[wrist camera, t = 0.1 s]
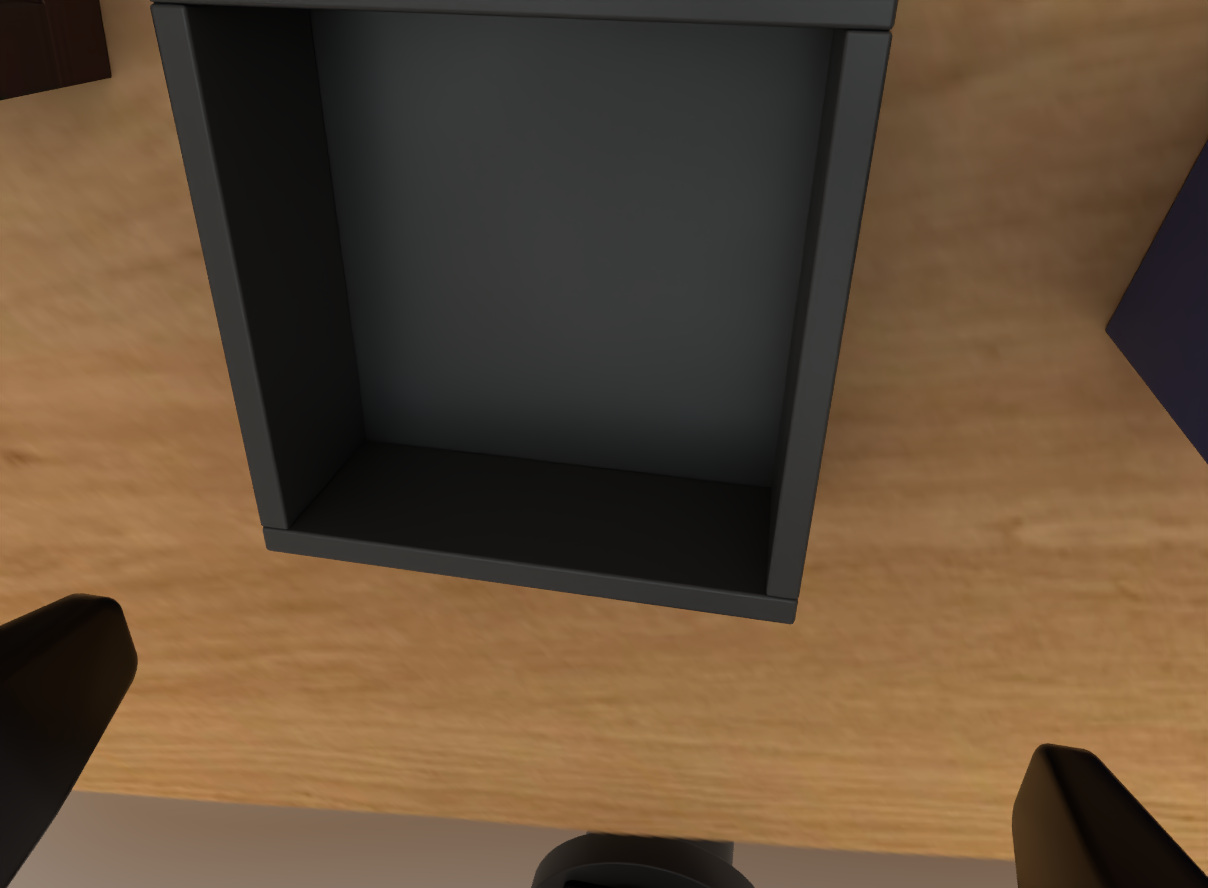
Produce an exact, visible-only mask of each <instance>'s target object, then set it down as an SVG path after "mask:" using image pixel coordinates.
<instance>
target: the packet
mask: <svg viewBox="0 0 1208 888" xmlns="http://www.w3.org/2000/svg"><path fill="white" fill-rule="evenodd" d="M1106 332H1107V334H1108V335H1109V336H1110V338H1111V339H1112V340H1113V342H1114V343H1115V344H1116V345H1117V347H1118V348H1119V349H1120V351H1121V352H1122V353H1123V355H1124V356H1125V357H1126V358H1127V360H1128V361H1129V362H1130V364H1131V365H1132V366H1133V368H1134V369H1135V370H1136V371H1137V373H1138V374H1139V375H1140V377H1141V378H1142V379H1143V381H1144V382H1145V383H1146V385H1147V386H1148V387H1149V388H1150V390H1151V391H1152V392H1153V394H1154V395H1155V396H1156V398H1157V399H1158V400H1159V401H1160V403H1161V404H1162V405H1163V407H1164V408H1165V409H1166V411H1167V412H1168V413H1169V414H1170V416H1171V417H1172V418H1173V420H1174V421H1175V422H1176V424H1177V425H1178V426H1179V427H1180V429H1181V430H1182V431H1183V433H1184V434H1185V435H1186V437H1187V438H1188V439H1189V441H1190V442H1191V443H1192V444H1193V446H1194V447H1195V448H1196V450H1197V451H1198V452H1199V454H1200V455H1201V456H1202V457H1203V459H1204V460H1205V461H1206V463H1207V464H1208V141H1207V143H1206V144H1205V146H1204V148H1203V150H1202V152H1201V154H1200V156H1199V157H1198V159H1197V161H1196V163H1195V165H1194V167H1193V169H1192V170H1191V172H1190V174H1189V176H1188V178H1187V180H1186V182H1185V183H1184V185H1183V187H1182V189H1181V191H1180V193H1179V195H1178V196H1177V198H1176V200H1175V202H1174V204H1173V206H1172V208H1171V209H1170V211H1169V213H1168V215H1167V217H1166V219H1165V220H1164V222H1163V224H1162V226H1161V228H1160V230H1159V232H1158V233H1157V235H1156V237H1155V239H1154V241H1153V243H1152V245H1151V246H1150V248H1149V250H1148V252H1147V254H1146V256H1145V258H1144V259H1143V261H1142V263H1141V265H1140V267H1139V269H1138V271H1137V272H1136V274H1135V276H1134V278H1133V280H1132V282H1131V284H1130V285H1129V287H1128V289H1127V291H1126V293H1125V295H1124V297H1123V298H1122V300H1121V302H1120V304H1119V306H1118V308H1117V310H1116V311H1115V313H1114V315H1113V317H1112V319H1111V321H1110V322H1109V324H1108V326H1107V328H1106Z"/></svg>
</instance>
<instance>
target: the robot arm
mask: <svg viewBox="0 0 1208 888" xmlns="http://www.w3.org/2000/svg"><path fill="white" fill-rule="evenodd" d="M137 664H138V659H137V653H136V650H135V647H134V644H133V641H132V638H131V635H130V632H129V629H128V626H127V623H126V620H125V617H124V614H123V611H122V608H121V606H120V605H119V603H118V602H116V601H115V600H114V599H112V598H109V597H103V596H96V595H90V594H83V593H80V594H72V595H69V596H66V597H64V598H62V599H60V600H57V601H55V602H53V603H51V604H48V605H46V606H44V607H42V608H39V609H37V610H35V611H33V612H30V613H28V614H26V615H23V616H21V617H19V618H17V619H14V620H12V621H10V622H8V623H5V624H3V625H1V626H0V888H7V887H8V886H9V884H10V883H11V881H12V880H13V879H14V877H15V876H16V874H17V873H18V871H19V870H20V868H21V867H22V865H23V864H24V863H25V861H26V860H27V858H28V857H29V855H30V854H31V852H32V851H33V850H34V848H35V846H36V845H37V843H38V842H39V841H40V839H41V838H42V836H43V835H44V833H45V832H46V830H47V829H48V827H49V826H50V824H51V823H52V821H53V820H54V818H55V817H56V815H57V813H58V812H59V810H60V808H61V807H62V805H63V803H64V801H65V800H66V798H67V797H68V795H69V793H70V792H71V790H72V788H73V787H74V785H75V783H76V781H77V779H78V778H79V776H80V774H81V772H82V770H83V769H84V767H85V765H86V763H87V762H88V760H89V758H90V756H91V754H92V753H93V751H94V749H95V747H96V746H97V744H98V742H99V740H100V738H101V737H102V735H103V733H104V731H105V730H106V728H107V726H108V724H109V722H110V721H111V719H112V717H113V715H114V714H115V712H116V710H117V708H118V706H119V705H120V703H121V701H122V699H123V698H124V696H125V694H126V692H127V690H128V689H129V687H130V685H131V683H132V681H133V679H134V677H135V674H136V670H137ZM1012 834H1013V844H1014V853H1015V863H1016V873H1017V882H1018V888H1208V877H1207V875H1206V874H1205V873H1204V872H1203V871H1202V870H1201V869H1200V868H1199V867H1198V866H1197V865H1196V864H1195V862H1194V861H1193V860H1192V859H1191V858H1190V857H1189V856H1188V855H1187V854H1186V853H1185V852H1184V850H1183V849H1182V848H1181V847H1180V846H1179V845H1178V844H1177V843H1176V842H1175V841H1174V840H1173V838H1172V837H1171V836H1170V835H1169V834H1168V833H1167V832H1166V831H1165V830H1164V829H1163V828H1162V827H1161V825H1160V824H1159V823H1158V822H1157V821H1156V820H1155V819H1154V818H1153V817H1152V816H1151V815H1150V813H1149V812H1148V811H1147V810H1146V809H1145V808H1144V807H1143V806H1142V805H1141V804H1140V803H1139V801H1138V800H1137V799H1136V798H1135V797H1134V796H1133V795H1132V794H1131V793H1130V792H1129V791H1128V790H1127V788H1126V787H1125V786H1124V785H1123V784H1122V783H1121V782H1120V781H1119V780H1118V779H1117V778H1116V776H1115V775H1114V774H1113V773H1112V772H1111V771H1110V770H1109V769H1108V768H1107V767H1106V766H1105V764H1104V763H1103V762H1102V761H1101V760H1100V759H1099V758H1098V757H1097V756H1096V755H1094V754H1093V753H1091V752H1090V751H1088V750H1085V749H1081V748H1074V747H1068V746H1062V745H1055V744H1049V743H1047V744H1042V745H1040V746H1039V747H1038V748H1037V749H1036V750H1035V752H1034V753H1033V756H1032V758H1031V761H1030V763H1029V766H1028V769H1027V771H1026V774H1025V776H1024V779H1023V782H1022V784H1021V787H1020V789H1019V792H1018V795H1017V797H1016V800H1015V803H1014V807H1013V813H1012ZM563 888H613V887H608V886H603V885H598V884H593V883H588V882H582V881H577V880H569V881H566V882H565V883H564V886H563Z"/></svg>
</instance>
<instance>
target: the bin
mask: <svg viewBox="0 0 1208 888" xmlns="http://www.w3.org/2000/svg"><path fill="white" fill-rule="evenodd" d="M150 1H152V2H154V4H152V5H151V7H150V9H151V13H152V18H153V23H154V27H155V32H156V37H157V41H158V46H159V51H160V55H161V60H162V65H163V69H164V74H165V79H166V83H167V88H168V93H169V97H170V102H171V107H172V111H173V116H174V121H175V125H176V130H177V134H178V139H179V144H180V148H181V153H182V158H183V162H184V167H185V172H186V176H187V181H188V186H189V190H190V195H191V200H192V204H193V209H194V214H195V218H196V223H197V228H198V232H199V237H200V242H201V246H202V251H203V256H204V260H205V265H206V270H207V274H208V279H209V284H210V288H211V293H212V297H213V302H214V307H215V311H216V316H217V321H218V325H219V330H220V335H221V339H222V344H223V349H224V353H225V358H226V363H227V367H228V372H229V377H230V381H231V386H232V391H233V395H234V400H235V405H236V409H237V414H238V419H239V423H240V428H241V433H242V437H243V442H244V446H245V451H246V456H247V460H248V465H249V470H250V474H251V479H252V484H253V488H254V493H255V498H256V502H257V507H258V512H259V516H260V521H261V525H262V526H263V534H264V539H265V543H266V548H267V549H268V550H270V551H277V552H284V553H291V554H298V555H305V556H312V557H320V558H327V559H334V560H341V561H348V562H355V563H362V564H369V565H376V566H383V567H390V568H397V569H404V570H411V571H418V572H425V573H433V574H440V575H447V576H454V577H461V578H468V579H475V580H482V581H489V582H496V583H503V584H510V585H517V586H524V587H531V588H538V589H546V590H553V591H560V592H567V593H574V594H581V595H588V596H595V597H602V598H609V599H616V600H623V601H630V602H637V603H644V604H651V605H659V606H666V607H673V608H680V609H687V610H694V611H701V612H708V613H715V614H722V615H729V616H736V617H743V618H750V619H757V620H764V621H772V622H779V623H786V624H793V623H794V621H795V617H796V611H797V605H798V597H799V593H800V587H801V581H802V575H803V569H804V563H805V557H806V551H807V545H808V539H809V533H810V527H811V521H812V515H813V509H814V503H815V497H816V491H817V485H818V479H819V473H820V467H821V461H822V455H823V449H824V443H825V437H826V431H827V425H828V419H829V413H830V407H831V401H832V395H833V389H834V383H835V377H836V371H837V365H838V359H839V353H840V347H841V341H842V335H843V329H844V323H845V317H846V311H847V305H848V299H849V293H850V287H851V281H852V275H853V269H854V263H855V257H856V251H857V245H858V239H859V233H860V227H861V221H862V215H863V209H864V203H865V197H866V191H867V185H868V179H869V173H870V167H871V161H872V155H873V149H874V143H875V137H876V131H877V125H878V119H879V113H880V107H881V101H882V95H883V89H884V83H885V77H886V71H887V65H888V59H889V53H890V47H891V41H892V33H891V31H890V30H891V29H892V28H893V26H894V23H895V17H896V11H897V5H898V0H150Z"/></svg>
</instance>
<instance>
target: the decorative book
mask: <svg viewBox="0 0 1208 888" xmlns="http://www.w3.org/2000/svg"><path fill="white" fill-rule="evenodd" d="M107 78H111V74H110V68H109V62H108V56H107V50H106V44H105V38H104V32H103V26H102V20H101V14H100V8H99V2H98V0H0V100H4V99H9V98H14V97H19V96H24V95H29V94H33V93H38V92H43V91H48V90H53V89H58V88H63V87H68V86H72V85H77V84H82V83H87V82H92V81H97V80H102V79H107Z"/></svg>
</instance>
